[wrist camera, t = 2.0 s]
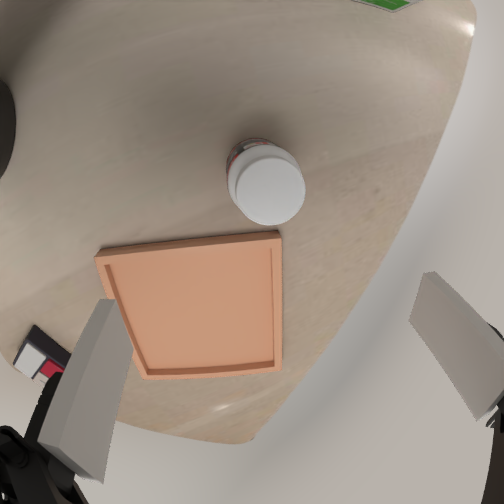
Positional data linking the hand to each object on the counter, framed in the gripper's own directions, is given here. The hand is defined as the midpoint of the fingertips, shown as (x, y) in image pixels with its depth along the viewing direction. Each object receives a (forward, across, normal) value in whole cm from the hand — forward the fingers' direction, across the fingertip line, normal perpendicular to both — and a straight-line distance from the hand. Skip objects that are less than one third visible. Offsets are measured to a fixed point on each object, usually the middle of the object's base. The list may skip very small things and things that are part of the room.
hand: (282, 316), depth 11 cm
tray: (+19, -6, -15) cm, 25 cm away
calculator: (+20, -33, -26) cm, 46 cm away
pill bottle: (+20, +1, +3) cm, 20 cm away
